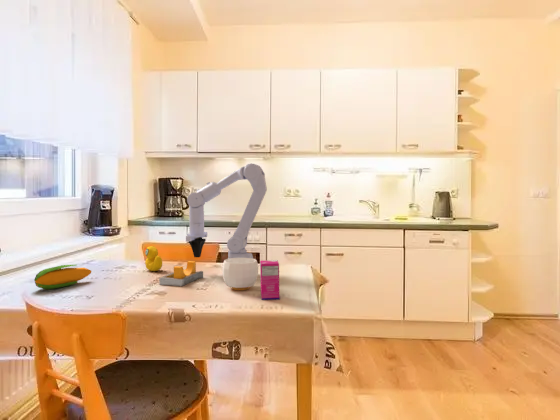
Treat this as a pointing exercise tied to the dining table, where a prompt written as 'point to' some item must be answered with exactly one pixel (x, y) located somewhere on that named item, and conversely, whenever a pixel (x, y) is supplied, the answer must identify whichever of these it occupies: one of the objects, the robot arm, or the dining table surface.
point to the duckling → (153, 259)
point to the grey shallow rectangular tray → (183, 281)
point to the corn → (60, 276)
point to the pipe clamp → (189, 270)
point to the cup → (240, 272)
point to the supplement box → (269, 279)
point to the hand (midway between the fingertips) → (197, 257)
